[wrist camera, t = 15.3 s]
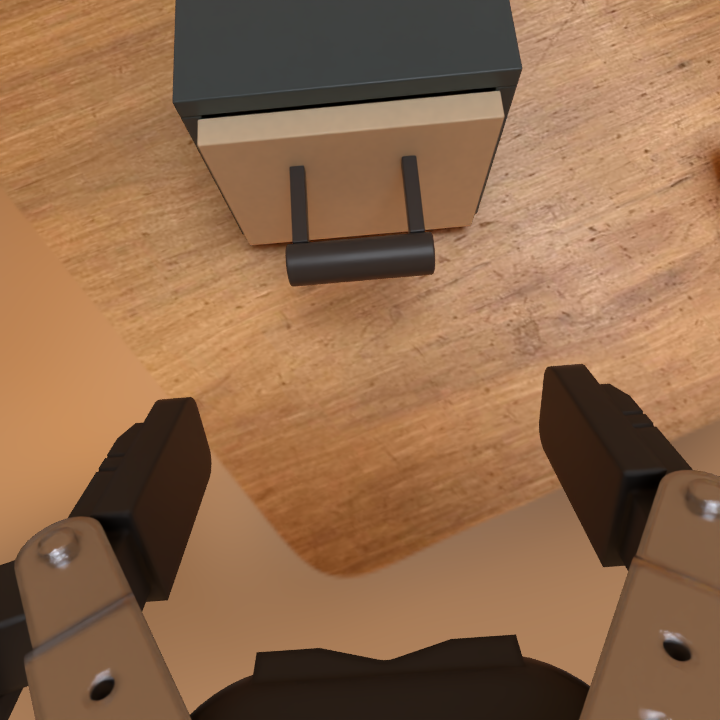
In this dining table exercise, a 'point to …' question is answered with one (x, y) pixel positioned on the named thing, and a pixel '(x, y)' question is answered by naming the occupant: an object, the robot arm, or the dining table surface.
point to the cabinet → (337, 53)
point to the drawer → (355, 178)
